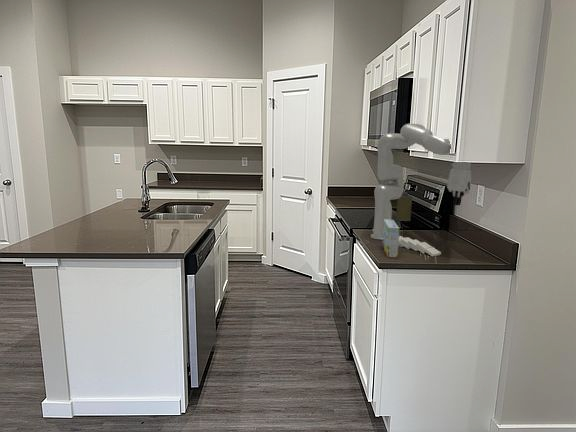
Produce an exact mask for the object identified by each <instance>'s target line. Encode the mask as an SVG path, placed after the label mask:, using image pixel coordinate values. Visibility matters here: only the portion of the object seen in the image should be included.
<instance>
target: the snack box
mask: <svg viewBox="0 0 576 432" xmlns="http://www.w3.org/2000/svg"><path fill="white" fill-rule="evenodd" d="M399 236H400V227H399V225H397V223H396V222H395V219H391V220H390V219H384V222H383V240H382V249H383V250H384V253H385V255H386V258H398V257H399V246H398V245H399Z"/></svg>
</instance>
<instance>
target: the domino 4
mask: <svg viewBox="0 0 576 432" xmlns="http://www.w3.org/2000/svg"><path fill="white" fill-rule="evenodd" d="M416 246H417V247H419V248H420V249H422V250H423V251H425V252H426V253H425V254H428V255H430V256H431V257H437V256H440V255H442V251H440V250H438V249H436V248H435V247H433V246H431V245H430V244H428V243H427V242H426V241H421V243H417V244H416Z"/></svg>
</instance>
